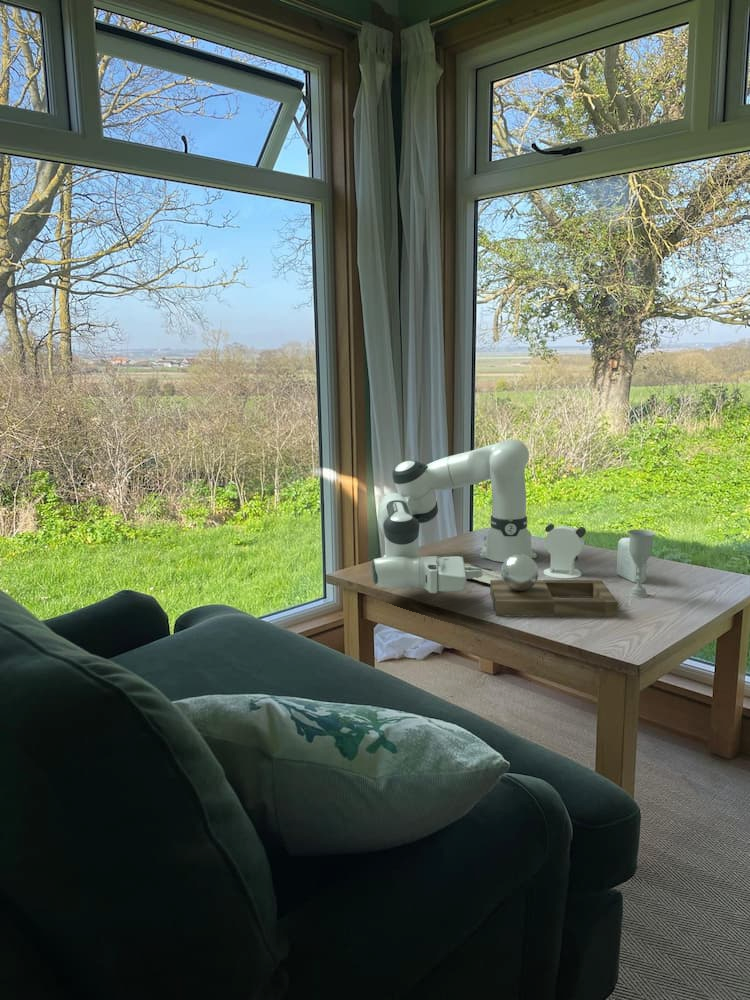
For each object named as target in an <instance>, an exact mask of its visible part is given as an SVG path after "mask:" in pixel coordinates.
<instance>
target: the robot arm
mask: <svg viewBox="0 0 750 1000" xmlns="http://www.w3.org/2000/svg"><path fill="white" fill-rule="evenodd" d="M529 459H530V453H529V449H528V447H527V446H526V445H525V444H524V443H523V442H522V441H520V440H518V439H508V440H504V441H500V442H497V443H493V444H489V445H486V446H483V447H478V448H476V449H472V450H469V451H465V452H462V453H461V452H460V453H456V454H453V455H449V456H445V457H442V458H440V459H439V458H438V459H437V460H434V461H432V462H430V463H428V464H426V463H423V462H420V461H419V460H418V461H417V460H415V459H414V460H413V459H411V460H410V459H409V460H406V461H402V462H400V463H399V464H397V465H395V467H394V468H393V470H392V473H391V474H392V475H391V476H392V480H393V483H394V485H395V488H396V491H397V492H389V493H388V494H387V493H386V494H385V495H384V496H383V497H382V498H381V500H380V501H379V504H378V509H377V519H378V521H377V522H378V525H379V527H380V528H379V529H380V530H381V532H382V533H383V535H384V551H385V553H384V555H383V556H382V557H377V558H374V559H373V560H372V563H371V574H372V581H373V583H374V585H376V587H381V588H384V589H386V588H387V589H401V590H402V589H404V590H405V589H407V588H415V589H424V590H426V591H427V592H428V593H430V594H437V593H439V592H442V593H443V592H461V591H464V590H466V589H467V580H472V579H471V578H475V577H482V570H481V568H474V567H470V566H464V563H465V562H464V557H463V556H459V555H458V556H456V555H455V556H440V558H438V559H437V555H434V556H431V555H428V556H427V555H425V556H424V555H421V556H420V524H425V523H428V522H430V521H432V520H434V518H436V516H437V515H438V513H439V506H438V501H437V500H436V495H435V494H434V492H437V491H449V490H453V489H459V488H463V487H466V486H472V485H475V484H480V483H483V482H485V481H488V480H490V483H491V497H492V499H491V501H492V503H491V509H492V510H491V515H490V519H489V521H490V528H489V530H488V531H487V533H486V534H484V535H483V541H484V542H486V543H484V545H483V547H482V550H481V552H480V553H479V554H480V555H479V558H482V559H488V560H491V561H493V562H494V561H495V562H500V563H504V561H505V560H506V559H507V558H508V557H510V556H512V555H515V554H523V555H527V556H529V557H530V558H531V559H535V558H537V557H538V555H537V553H536V552H535V551H533V550H532V549H533V548H532V547H533V545H532V542H533V540H532V533H531V531H529V530H528V528H527V527H528V516H527V489H526V477H525V476H526V475H525V468H526V466H527V465H528V462H529ZM438 591H439V592H438Z"/></svg>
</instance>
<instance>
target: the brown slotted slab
mask: <svg viewBox="0 0 750 1000" xmlns="http://www.w3.org/2000/svg"><path fill="white" fill-rule="evenodd" d="M489 586H490V587H489V589H490V590H489V592H490V598H491V601H493V602H492V605H494V606H493V609H495V610H494V612H496V614H495V616H496V615H533V616H532V617H618V610H619V609H618V608H619V607H618V604H619V602H618V600H617V599H616V597H615V596H614V595H613V593H612V592H611V590H610V589H609V588H608V587H607V585H606V584H605V583H604V581H603V580H602V579H601V580H600V579H537V581H536V583H535V584H534V585H533V586H532V587H531V588H530V589H528V590H525V591H515V590H512V589H510V588H509V587H507V586H506V585H505V583H504V582H503V580H490V584H489ZM561 597H562V598H561ZM567 597H568V598H567ZM569 597H572V598H569ZM577 597H578V598H577ZM580 597H582V598H580ZM584 597H585V598H584ZM588 597H591V598H588Z"/></svg>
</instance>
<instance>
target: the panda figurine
mask: <svg viewBox="0 0 750 1000" xmlns="http://www.w3.org/2000/svg"><path fill="white" fill-rule="evenodd" d="M545 532H546V533H547V535H546V537H545V542H544V544H545V545H544V546H545V548H546V550H547V552H548V553H549V554H550V563H549V564H550V566H549V567H548V568H546V569H544V570H543V574H544V575H545V576H546V575H547V576H546V577H549V576H550V577H549V578H552V577H553V579H557V578H559V579H558V580H574V579H577V577H578V578H580V577H581V576H582V571H580V570H579V569H576V568H575V563H576V561H577V560H578V559H579V556H578V555H579V554H580V553H581V552H582V550H583V549H584V547H585V540H584V537H585V535H586V533H587V530H586V528H585V527H584V526H580V527H578V528H575V527H573V526H569V525H557V526H555V525H554V523H548V525H547V526H546V527H545ZM573 578H574V579H573Z"/></svg>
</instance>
